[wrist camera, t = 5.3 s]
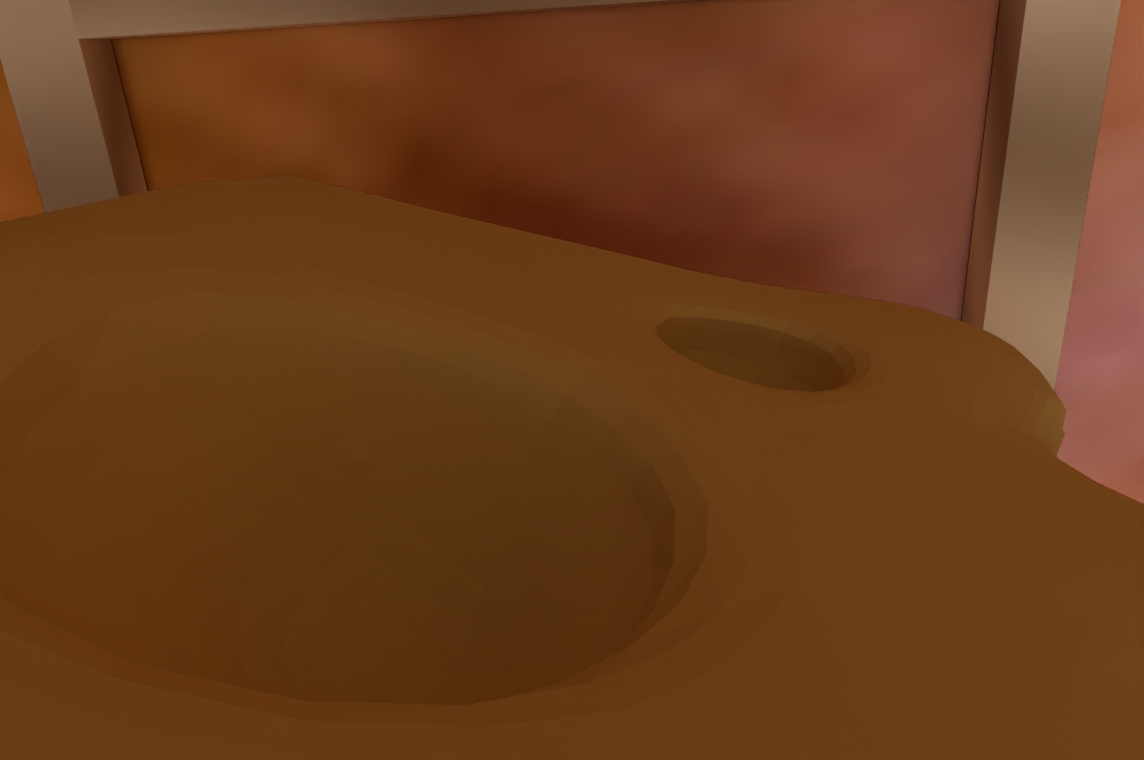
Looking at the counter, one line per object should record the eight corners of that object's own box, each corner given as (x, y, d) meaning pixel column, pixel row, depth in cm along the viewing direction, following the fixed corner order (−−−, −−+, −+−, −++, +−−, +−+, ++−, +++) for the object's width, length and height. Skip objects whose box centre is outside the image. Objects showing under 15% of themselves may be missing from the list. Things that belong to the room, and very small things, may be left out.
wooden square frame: (7, -47, 15) (-32, -52, 14) (1108, -126, 14) (1144, -137, 13) (238, 786, 22) (222, 818, 21) (965, 781, 21) (981, 815, 20)
